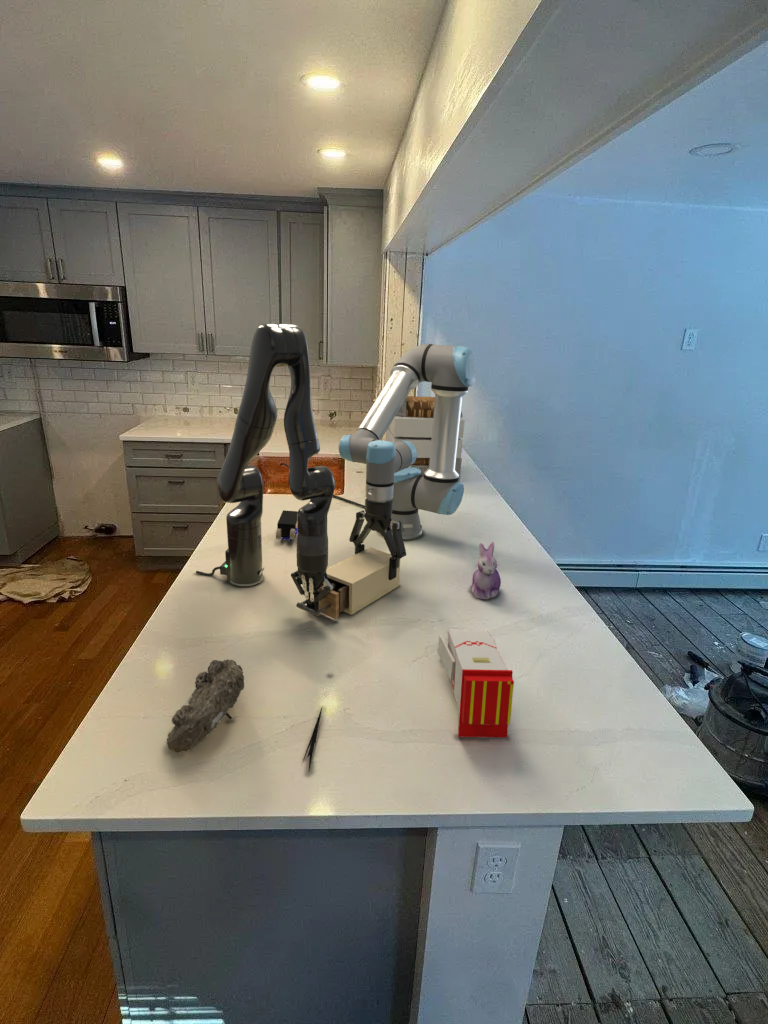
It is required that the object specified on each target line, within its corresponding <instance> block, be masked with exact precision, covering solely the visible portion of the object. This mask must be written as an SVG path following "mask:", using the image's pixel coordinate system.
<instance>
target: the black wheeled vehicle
mask: <svg viewBox="0 0 768 1024" xmlns="http://www.w3.org/2000/svg"><path fill="white" fill-rule="evenodd" d="M297 513H298V510H297V511H296V510H285V509H284V510H283V509H282V512H281V514H280V517H279V518H278V521H277V526H276V532H275V539H276V540H280V544H283V543H284V541H288V542H289V544H292V542H293V540H295V539H296V536H297Z"/></svg>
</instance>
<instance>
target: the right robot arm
mask: <svg viewBox="0 0 768 1024" xmlns="http://www.w3.org/2000/svg"><path fill="white" fill-rule="evenodd" d="M477 373H478V363H477V358H476V356H475V353H474V351H473V350H472V349H471V348H470V347H467V346H461V345H449V344H447V345H446V344H433V343H423V344H419V345H417V346H414V347H413V348H411V349H409V350H408V351H406V352H405V353H404V354H403V355H402V356H400V357H399V359H398V360H397V361H396V362H395V363H394V365H393V366H392V367H391V369H390V373H389V374H390V377H389V379H388V380H387V382H386V384H385V385H384V387H383V388H382V390H381V391H380V393H379V395H378V396H377V398H376V400H374V402H373V404H372V406H371V408H370V409H369V411H368V412H367V413H366V415H365V417H364V419H363V420H362V421H361V423H360V425H359V426H358V428H357V429H356V431H355V432H354V434H352V433H351V434H345V435H343V436H342V437H341V439H340V440H339V444H338V453H339V456H340V457H341V458H342V459H343V460H345V461H349V462H352V463H358V464H362V465H363V464H364V465H366V469H365V470H366V471H365V474H366V475H365V500H364V504H361V503H358V502H356V501H353V500H351V499H348V498H345V497H342V496H339V495H336V494H333V497H332V498H336V499H339V500H340V501H344V502H347V503H350V504H352V505H355V506H358V507H361V508H364V510H360V511H357V512H355V521H354V524H353V528H352V529H351V533H350V536H349V538H348V541H349V542H350V543H352V544H354V545H353V546H354V555H355V554H357V553H360V552H362V551H364V550H366V544H365V543H364V541H365V540H366V539H367V537H368V536H369V534H370V533H371V532H372V531H373V532H376V533H379V534H380V535H381V537H383V540H384V542H385V544H386V546H387V548H388V549H387V550H388V551H389V554H391V556H392V557H391V558H390V560H389V580H392V579H394V578H396V575H397V568H399V560H400V561H401V559H402V558H404V557H406V556H407V551H406V547H405V542H404V541H410V540H415V539H418V538H420V537H421V536H422V535H423V525H422V524H421V518H420V515H419V510H421V511H426V512H429V513H435V514H437V515H445V516H451V515H453V514H454V513H456V511H457V510H458V509H459V507H460V505H461V502H462V500H463V497H464V493H465V487H464V486H465V485H464V483H463V482H461V481H460V482H459V474H458V473H457V472H456V471H455V465H456V455H457V445H458V435H459V425H460V416H461V412H462V406H463V398H464V396H465V395H466V394H467V393H468V392H469V388H470V387H473V386H474V384H475V383H476V378H477ZM422 382H427V383H431V385H430V390H431V391H432V392H433V393H434V397H435V405H434V416H433V428H432V439H431V451H430V462H429V465H428V468H427V469H426V470H424V471H423V474H422V470H421V468H419V467H414V466H410V465H412V464H413V463H414V462H415V461H416V458H417V451H416V448H415V446H414V445H413V444H412V443H411V442H408V441H399V442H397V443H396V442H390V441H385V440H383V437H384V435H386V430H387V429H388V427H389V425H390V424H391V422H392V421H393V419H394V417H395V416H396V414H397V412H398V411H399V409H400V407H401V406H402V404H403V402H404V401H405V399H406V397H407V396H409V394H410V393H411V391H412V390H414V389H416V388H417V387H418V385H419V384H420V383H422ZM278 466H279V467H281V466H285V467H287V468H288V469H289V464H287V463H285V462H281V463H279V465H278ZM365 521H366V524H365V525H364V522H365ZM363 525H364V526H363ZM362 528H363V529H362ZM400 558H401V559H400Z"/></svg>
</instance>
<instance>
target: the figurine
mask: <svg viewBox="0 0 768 1024" xmlns="http://www.w3.org/2000/svg"><path fill="white" fill-rule="evenodd" d="M478 550H479V558H478V560H477V563H476V566H477V569H476V570H475V571H473V574H472V577H471V587H470V588H471V589H470V590H471V593H472V594H473V595H474V597H475V598H477V599H481V600H489V599H490V598H492V599H493V598H495V597H497V596H498V594H499V592H500V588H501V586H502V585H501V584H502V580H501V575H500V573H499V570H498V569H497V568H498V562H497V560H496V557H495V555H494V551H495V542H494V541H491V542H490V543H489V545H488V546H487V548H486V547H485V545H484V544H483V543H482V542H479V544H478Z"/></svg>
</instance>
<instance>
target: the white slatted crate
mask: <svg viewBox="0 0 768 1024" xmlns="http://www.w3.org/2000/svg"><path fill="white" fill-rule="evenodd" d="M434 405H435V396H415V395H414V396H413V395H412V396H411V395H408V396H407V397H406V399H405V401H404V402H403V404H402V406H401V407H400V409H399V411H398V412H397V414H396V416H395V417H394V419H393V421H392V422H391V424H390V425H389V427H388V429H387V430H386V432H385V438H384V441H390V442H396V443H397V442H399V441H408V442H411V443H412V444H413V445H414V446H415V448H416V451H417V458H416V461H415V462H414V463H413V464H412V465H410V466H409V467H417V466H418V467H429V462H430V451H431V439H432V428H433V416H434ZM464 429H465V419H464V418H463V411H461V416H460V425H459V435H458V445H457V455H456V465H455V471H456V472H457V473H458V474H459V482H461V472H462V461H463V460H462V453H463V442H464V441H463V440H462V439H463V438H464V431H465V430H464Z"/></svg>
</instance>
